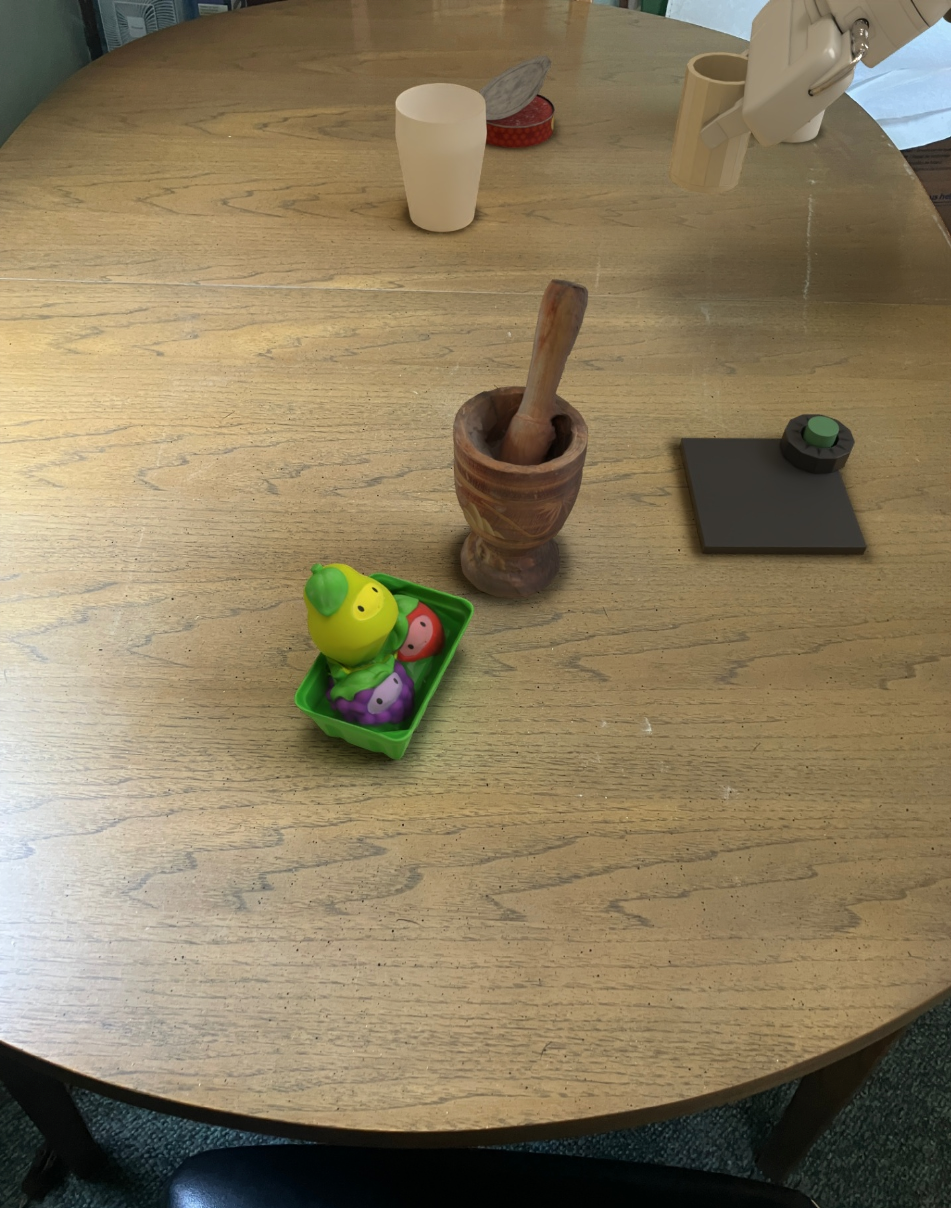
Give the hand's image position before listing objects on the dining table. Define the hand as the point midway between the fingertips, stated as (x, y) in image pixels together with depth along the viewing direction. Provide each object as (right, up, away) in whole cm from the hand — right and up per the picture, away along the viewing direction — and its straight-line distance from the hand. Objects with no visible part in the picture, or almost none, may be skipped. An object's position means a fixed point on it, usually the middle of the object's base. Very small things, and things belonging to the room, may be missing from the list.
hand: (708, 118), depth 80 cm
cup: (-23, -1, +20) cm, 31 cm away
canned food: (-15, +15, +33) cm, 39 cm away
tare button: (+8, -28, -5) cm, 29 cm away
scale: (+3, -33, -6) cm, 34 cm away
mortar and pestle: (-17, -37, -9) cm, 42 cm away
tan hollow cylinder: (+1, -3, +4) cm, 5 cm away
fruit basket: (-26, -47, -17) cm, 57 cm away
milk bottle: (+18, +16, +34) cm, 42 cm away
